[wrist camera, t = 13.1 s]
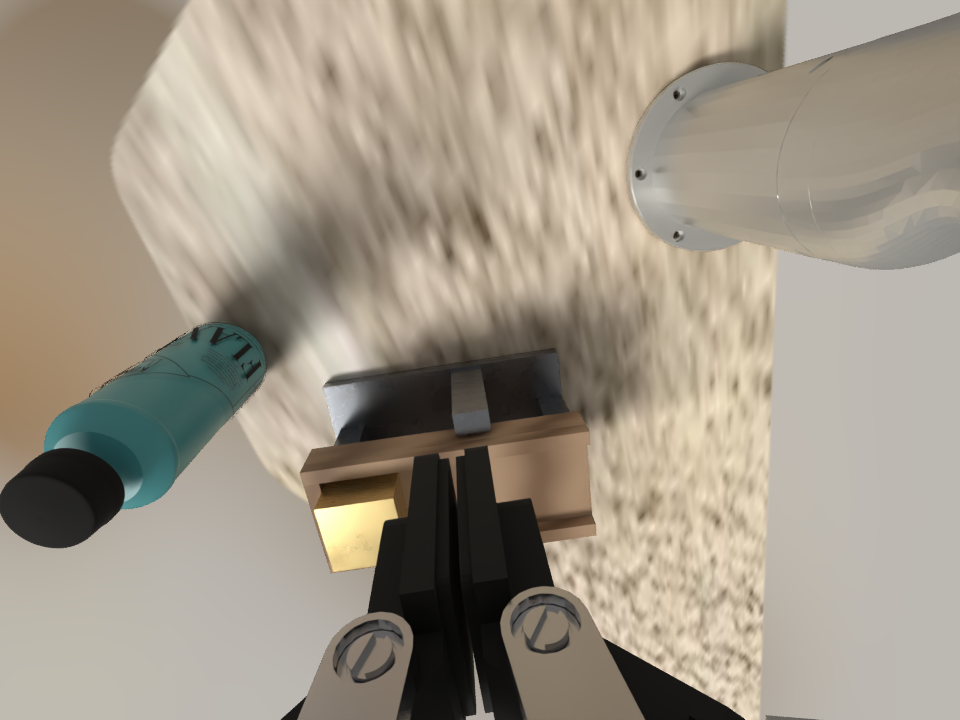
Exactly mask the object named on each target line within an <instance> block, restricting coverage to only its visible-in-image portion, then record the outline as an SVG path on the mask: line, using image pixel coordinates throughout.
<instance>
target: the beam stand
mask: <svg viewBox="0 0 960 720" xmlns="http://www.w3.org/2000/svg"><path fill="white" fill-rule="evenodd" d="M323 391H324V395H325V398H326V402H327V406H328V409H329V413H330V417H331V420H332V424H333V428H334V432H335V435H336V442H335V444H334V446H338V445H345V444H352V443H359V442H365V441H372V440H379V439H386V438H393V437H400V436H407V435H414V434H421V433H428V432H435V431H442V430H449V429H455V435H456V436H460V435H467V434H473V433H480V432H486V431H491V425H490V423H497V422H504V421H511V420H518V419H525V418H532V417H539V416H546V415H553V414H560V413H567V412H570V411H569V409H568V407H567V406H566V404H565V402H564V400H563V398H562V394H561V383H560V371H559V360H558V352H557V350H556V349H555V348H554V349H548V350H541V351H535V352H528V353H521V354H515V355H508V356H501V357H495V358H488V359H482V360H475V361H468V362H462V363H455V364H449V365H442V366H435V367H429V368H422V369H416V370H409V371H402V372H396V373H389V374H383V375H376V376H369V377H363V378H356V379H349V380H343V381H336V382H330V383H325V385H324V387H323Z"/></svg>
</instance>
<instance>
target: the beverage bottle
mask: <svg viewBox="0 0 960 720" xmlns="http://www.w3.org/2000/svg"><path fill="white" fill-rule="evenodd" d="M211 323H214V324H207V325H206V324H205V323H204V325H203V326H202V325H201V326H200V327H197V328H195V327H193V328H194V329H193V331H191V332H190V333H188V334H187V335H185V336H183V337H182V338H180V339H178V338H179V337H178V338H176V339H175V340H174V341H175V342H174V341H172V342H171V343H172V344H171V343H169V344H167V345H166V346H164V347H163V348H164V349H163V348H161V349H159V350H157V352H158V351H160V350H161V351H160V352H158V353H157V352H156V353H157V354H154V355H153V356H152V355H151V356H152V357H150V358H149V359H147V360H144V361H143V362H142V363H141V364H139V365H138V366H136V367H134V368H133V369H131V370H129V371H125V372H124V371H123V373H125V374H124V375H122V376H120V377H119V378H117V379H115V380H113V381H110V382H111V383H109V384H108V385H106V386H104V385H103V386H104V387H103V386H102V388H101V389H99V390H98V391H97V392H95V393H94V394H93V395H91V396H90V395H89V398H87V399H85V400H84V401H82V402H81V403H79V404H76V405H74V406H71V407H70V408H68V409H66V410H65V411H63V412H62V413H61V414H59V415H58V416H57V417H56V418H55V419H54V421H53V422H52V423H51V425H50V427H49V428H48V430H47V433H46V436H45V441H44V452H45V453H43V454H41V455H39V456H38V457H37V458H35V459H34V460H32V461H31V462H30V463H29V464H28V465H27V466H25V468H24V469H23V470H22V471H21V472H20V473H18V474H17V475H16V476H15V477H14V478H12V479H11V480H10V481H9V482H8V483H7V484H6V485H5V487H4V489H3V490H2V492H1V494H0V514H1V516H2V518H3V520H4V521H5V523H6V524H7V525H8V527H9V528H10V529H11V530H12V531H14V532H15V533H16V534H17V535H19V536H20V537H22V538H23V539H25V540H27V541H29V542H31V543H33V544H36V545H40V546H44V547H49V548H67V547H71V546H75V545H77V544H79V543H81V542H83V541H85V540H86V539H88V538H89V537H90V536H91V535H92V534H94V533H95V532H96V531H97V530H98V529H99V528H100V527H102V526H103V525H105V524H107V523H108V522H109V521H110V520H111V519H112V518H113V517H114V516H115V515H116V514H117V513H118V512H119V511H120V509H133V508H138V507H142V506H145V505H148V504H150V503H152V502H154V501H156V500H157V499H159V498H161V497H162V496H163V495H164V494H165V493H166V492H167V491H168V490H169V489H170V487H171V486H172V484H173V483H174V481H175V479H176V478H177V477H178V476H179V475H180V474H181V473H182V471H183V470H184V469H185V468H186V467H187V466H188V465H189V464H190V462H191V461H192V460H193V459H194V458H195V457H196V455H197V454H198V453H199V452H200V451H201V450H202V449H203V447H204V446H205V445H206V444H207V443H208V442H209V441H210V439H211V438H212V437H213V436H214V435H215V433H216V432H217V431H218V430H219V429H220V428H221V427H222V426H223V425H224V424H225V423H226V422H227V421H228V420H229V419H230V418H231V417H232V416H233V415H234V414H235V412H236V411H237V410H238V409H239V408H240V407H241V406H242V405H243V403H244V402H245V401H247V399H248V398H249V397H251V395H252V393H253V392H255V391H256V389H257V388H258V387H259V385H260V384H261V383H262V380H263V378H264V374H265V368H266V360H265V355H264V352H263V349H262V347H261V346H260V344H259V343H258V341H257V340H256V339H255V338H254V337H253V336H252V335H251V334H250V333H248V332H247V331H245V330H244V329H242V328H240V327H237V326H235V325H231V324H226V323H220V322H211ZM191 330H192V329H191ZM184 334H186V333H184ZM177 339H178V340H177ZM176 340H177V341H176ZM168 345H169V346H168ZM167 346H168V347H167ZM162 349H163V350H162ZM123 373H122V374H123ZM118 375H121V373H120V374H118ZM118 375H117V376H118ZM265 376H266V375H265ZM264 380H265V379H264ZM107 382H108V381H107ZM260 387H261V385H260ZM90 394H91V393H90ZM253 394H254V393H253ZM248 400H250V398H249V399H248ZM245 403H246V402H245ZM241 408H243V407H241ZM236 414H237V413H236Z"/></svg>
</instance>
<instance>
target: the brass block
mask: <svg viewBox="0 0 960 720" xmlns="http://www.w3.org/2000/svg"><path fill="white" fill-rule="evenodd" d="M314 512H315V515H316V518H317V522H318V525H319V528H320V531H321V534H322V538H323V541H324V544H325V547H326V550H327V554H328V557H329V560H330V563H331V566H332V570H333V572H338V571H345V570H352V569H359V568H366V567H373V566H376V562H377V557H378V551H379V545H380V540H381V534H382V528H383V524H384V522H385V521H386V520H390V519H397V518H403V517H407V516H408V512H407V508H406V503H405V499H404V495H403V490H402V486H401V482H400V477H399V473H398V472H397V473H390V474H383V475H376V476H369V477H363V478H356V479H349V480H342V481H335V482H328V483H325V485H324V487H323V489H322V492H321V494H320V497H319V499H318V501H317V504H316V506H315V509H314Z"/></svg>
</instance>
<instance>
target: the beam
mask: <svg viewBox="0 0 960 720" xmlns="http://www.w3.org/2000/svg"><path fill="white" fill-rule="evenodd" d="M490 425H491V431H486V432H480V433H473V434H467V435H460V436H456V435H455V429H449V430H442V431H435V432H428V433H421V434H414V435H407V436H400V437H393V438H386V439H379V440H372V441H365V442H359V443H352V444H345V445H338V446H331V447H324V448H317V449H312V450H311V452H310V454H309V456H308V458H307V460H306V462H305V464H304V466H303V468H302V470H301V472H300V476H301V479H302V482H303V485H304V489H305V492H306V495H307V498H308V501H309V505H310V508H311V511H312V514H313V518H314V521H315V524H316V527H317V530H318V534H319V537H320V540H321V543H322V546H323V550H324V553H325V556H326V559H327V563H328V566H329V569H330V572H331V573H336V572H333V570H332V566H331V563H330V560H329V557H328V554H327V550H326V547H325V544H324V541H323V538H322V534H321V531H320V528H319V525H318V522H317V518H316V515H315V512H314V509H315V506H316V504H317V501H318V499H319V497H320V494H321V492H322V489H323V487H324V485H325V483H328V482H335V481H342V480H349V479H356V478H363V477H369V476H376V475H383V474H390V473H397V472H398V473H399V477H400V482H401V486H402V490H403V495H404V499H405V503H406V508H407V512H408V507H409V498H410V489H411V480H412V471H413V462H414V457H415V456H421V455H428V454H434V453H439V456H440V459H444V458H449V461H450V467H451V472H452V477H453V483H454V488H455V494H456V499H457V481H456V457H457V456H463V455H464V449H467V448H473V447H480V446H486V445H488V451H489V458H490V464H491V471H492V477H493V484H494V490H495V497H496V503H500V502H506V501H513V500H519V499H526V498H531V500H532V504H533V507H534V511H535V515H536V519H537V523H538V526H539V530H540V534H541V538H542V542H543V543H546V542H553V541H560V540H567V539H574V538H581V537H588V536H595V535H596V524H595V521H594V519H593V516H592V508H591V494H590V479H589V465H588V451H587V445H590V433H589V430H588V428H587V426H586V424H585V422H584V420H583V418H582V416H581V414H580V412H579V411H573V412H567V413H560V414H553V415H546V416H539V417H532V418H525V419H518V420H511V421H504V422H497V423H490ZM373 567H376V566H373ZM366 568H371V567H366ZM359 569H364V568H359ZM352 570H357V569H352ZM345 571H350V570H345ZM338 572H343V571H338Z"/></svg>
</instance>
